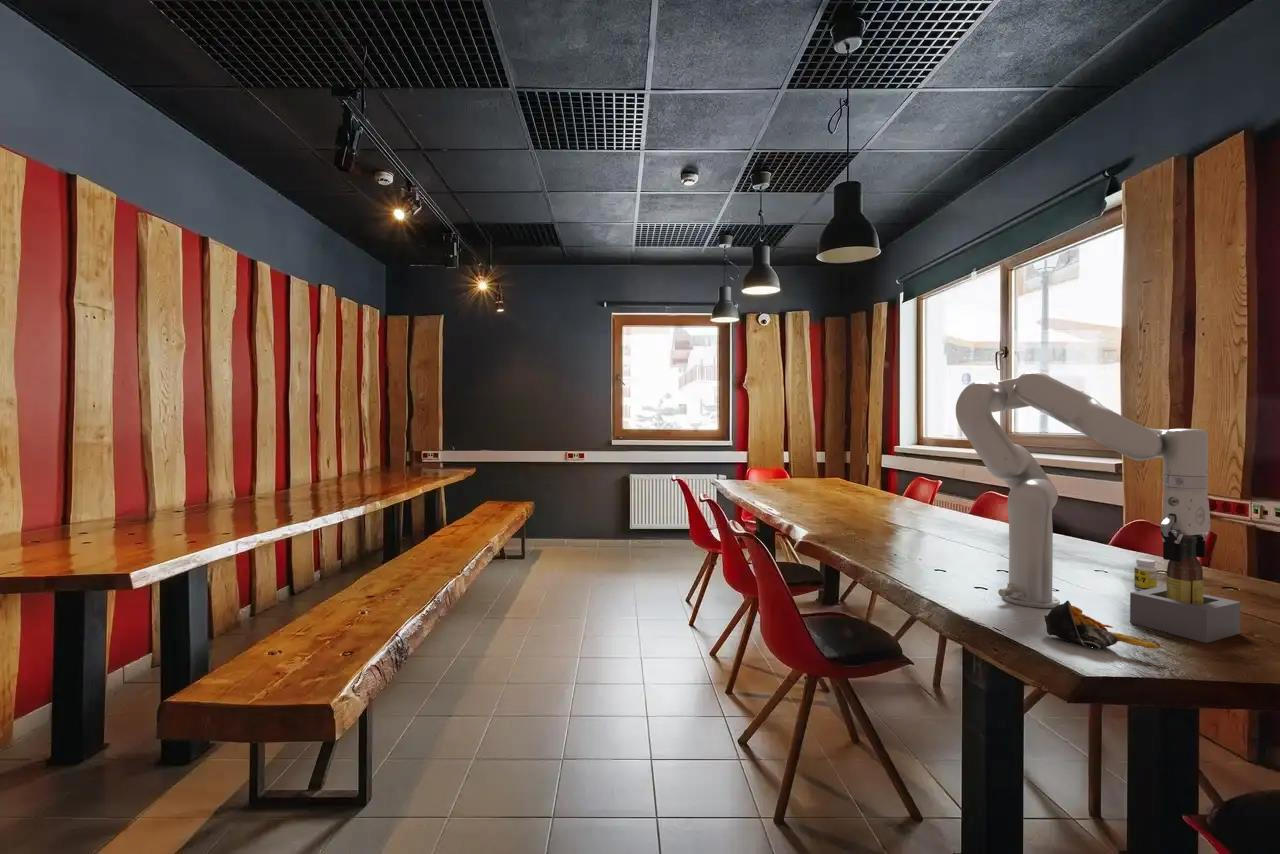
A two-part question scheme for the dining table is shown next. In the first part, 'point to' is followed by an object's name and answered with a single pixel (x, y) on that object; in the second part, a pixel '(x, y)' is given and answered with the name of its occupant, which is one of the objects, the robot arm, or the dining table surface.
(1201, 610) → the box
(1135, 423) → the robot arm
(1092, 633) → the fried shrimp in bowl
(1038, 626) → the dining table surface
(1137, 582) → the supplement bottle
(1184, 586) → the sauce bottle
